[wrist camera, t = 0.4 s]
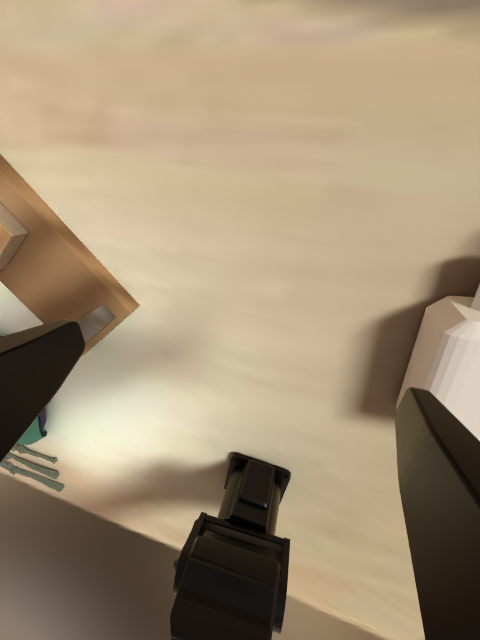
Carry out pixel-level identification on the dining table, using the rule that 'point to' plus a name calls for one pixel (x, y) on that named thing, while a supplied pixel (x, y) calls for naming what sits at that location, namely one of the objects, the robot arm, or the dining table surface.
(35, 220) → the brown piece
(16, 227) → the orange wooden beam
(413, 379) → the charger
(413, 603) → the dining table surface
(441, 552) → the robot arm
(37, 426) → the cutlery set
